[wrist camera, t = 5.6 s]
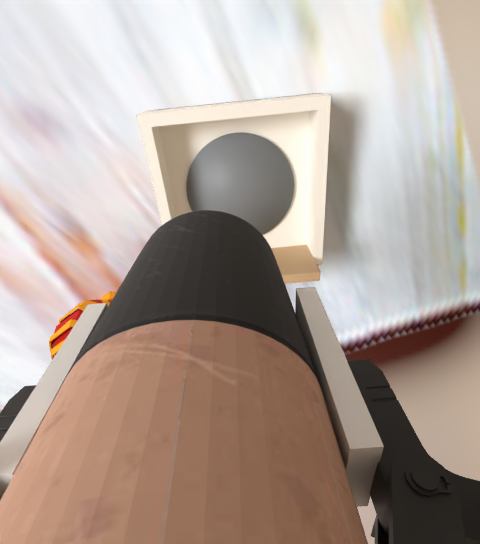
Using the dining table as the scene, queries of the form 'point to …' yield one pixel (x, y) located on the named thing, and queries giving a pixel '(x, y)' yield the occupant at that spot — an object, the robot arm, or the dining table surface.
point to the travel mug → (189, 411)
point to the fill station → (248, 169)
